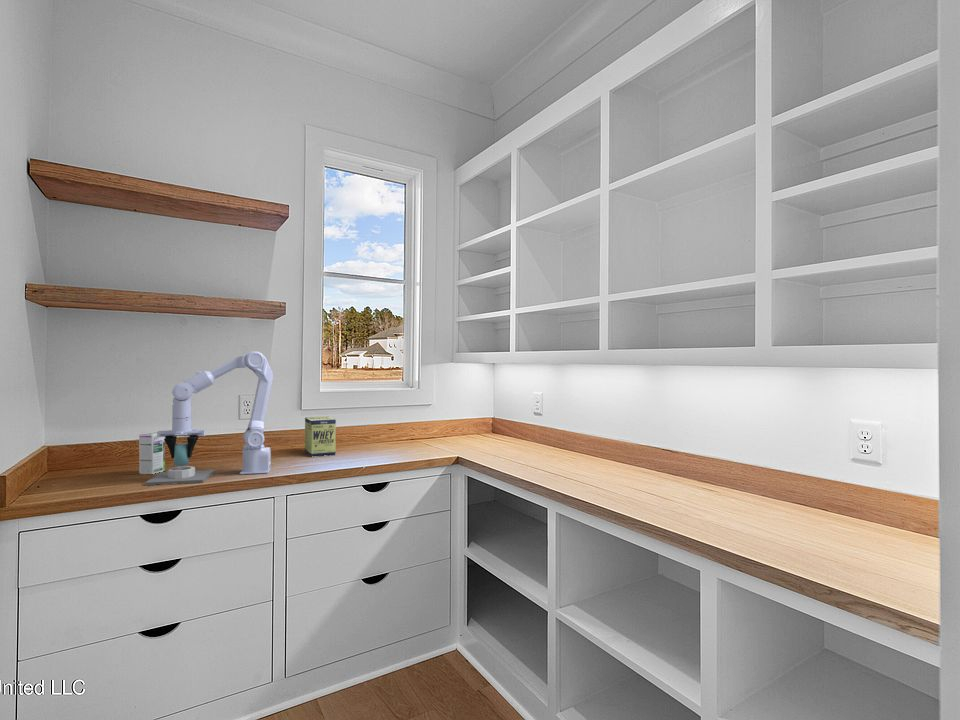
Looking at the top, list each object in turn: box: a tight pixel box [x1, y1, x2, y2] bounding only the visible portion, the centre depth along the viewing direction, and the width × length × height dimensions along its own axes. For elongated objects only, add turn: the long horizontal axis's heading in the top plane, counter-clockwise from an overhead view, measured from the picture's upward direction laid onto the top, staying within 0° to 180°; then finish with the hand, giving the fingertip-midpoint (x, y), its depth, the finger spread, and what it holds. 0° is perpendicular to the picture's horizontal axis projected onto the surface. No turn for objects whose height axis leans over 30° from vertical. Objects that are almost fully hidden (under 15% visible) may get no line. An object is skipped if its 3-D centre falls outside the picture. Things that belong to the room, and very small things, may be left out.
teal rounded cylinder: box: [173, 442, 190, 467], centre depth 176 cm, size 4×4×7 cm
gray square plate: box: [144, 465, 215, 486], centre depth 177 cm, size 17×16×4 cm
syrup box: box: [138, 431, 166, 475], centre depth 186 cm, size 6×6×14 cm
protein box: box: [304, 416, 337, 458], centre depth 227 cm, size 10×16×16 cm
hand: (181, 457), depth 177 cm, fingers closed on teal rounded cylinder, 4 cm apart
